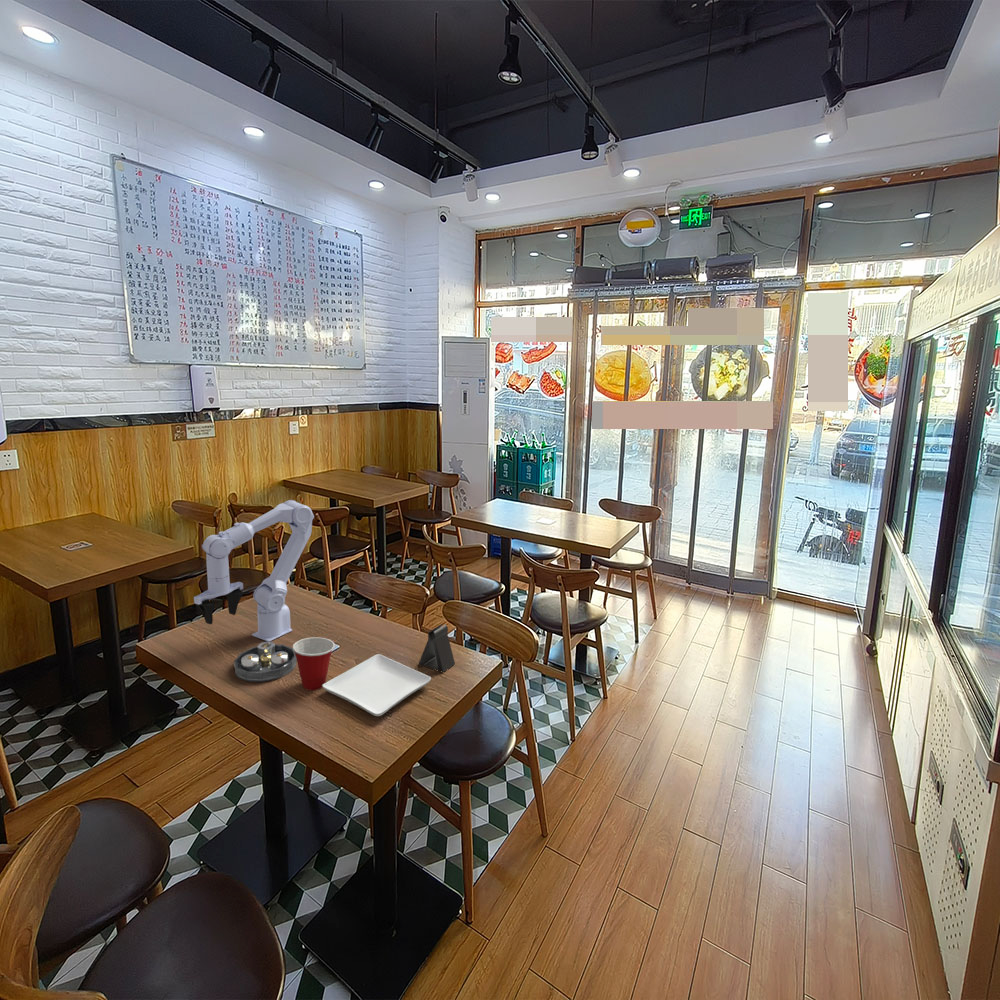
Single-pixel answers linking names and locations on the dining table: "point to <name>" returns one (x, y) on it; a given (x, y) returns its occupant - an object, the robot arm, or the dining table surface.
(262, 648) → the octagonal tube
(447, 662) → the phone stand
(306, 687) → the plastic cup
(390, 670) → the salad plate
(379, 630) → the dining table surface
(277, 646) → the carrier
